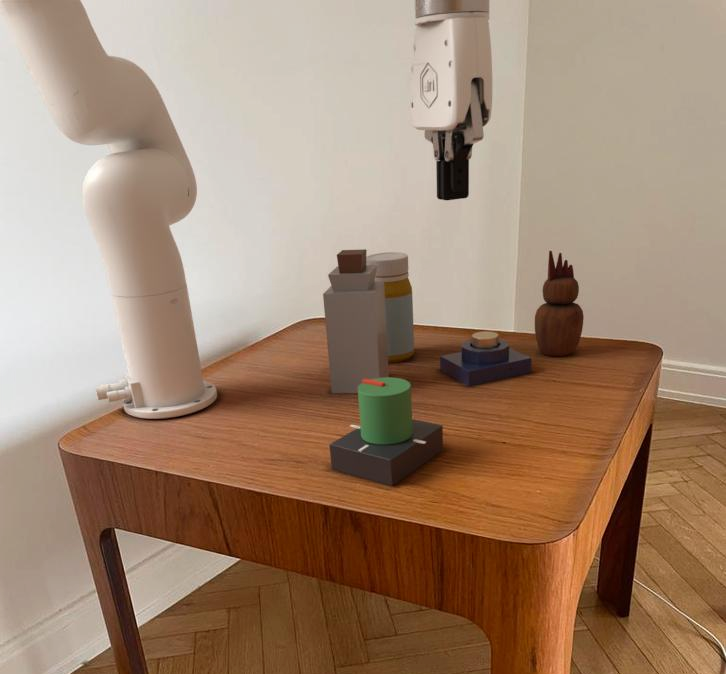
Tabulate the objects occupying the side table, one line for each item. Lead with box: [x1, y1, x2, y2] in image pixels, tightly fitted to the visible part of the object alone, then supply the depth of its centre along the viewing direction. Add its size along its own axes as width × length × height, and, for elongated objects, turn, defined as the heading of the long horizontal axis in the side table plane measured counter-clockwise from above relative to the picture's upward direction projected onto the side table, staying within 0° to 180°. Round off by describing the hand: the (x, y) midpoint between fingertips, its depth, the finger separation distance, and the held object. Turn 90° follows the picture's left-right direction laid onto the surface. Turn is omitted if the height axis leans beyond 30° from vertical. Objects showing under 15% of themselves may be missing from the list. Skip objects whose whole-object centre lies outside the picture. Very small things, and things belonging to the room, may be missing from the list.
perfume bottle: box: [322, 248, 390, 394], centre depth 100 cm, size 7×7×18 cm
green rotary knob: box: [357, 376, 413, 445], centre depth 79 cm, size 6×6×6 cm
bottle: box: [366, 251, 415, 364], centre depth 111 cm, size 7×7×15 cm
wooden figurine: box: [534, 250, 585, 358], centre depth 107 cm, size 7×6×15 cm
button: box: [471, 331, 499, 349], centre depth 103 cm, size 4×4×2 cm
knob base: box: [329, 417, 444, 487], centre depth 81 cm, size 10×10×3 cm
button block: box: [439, 338, 532, 387], centre depth 105 cm, size 10×8×4 cm
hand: (452, 198), depth 84 cm, fingers closed
